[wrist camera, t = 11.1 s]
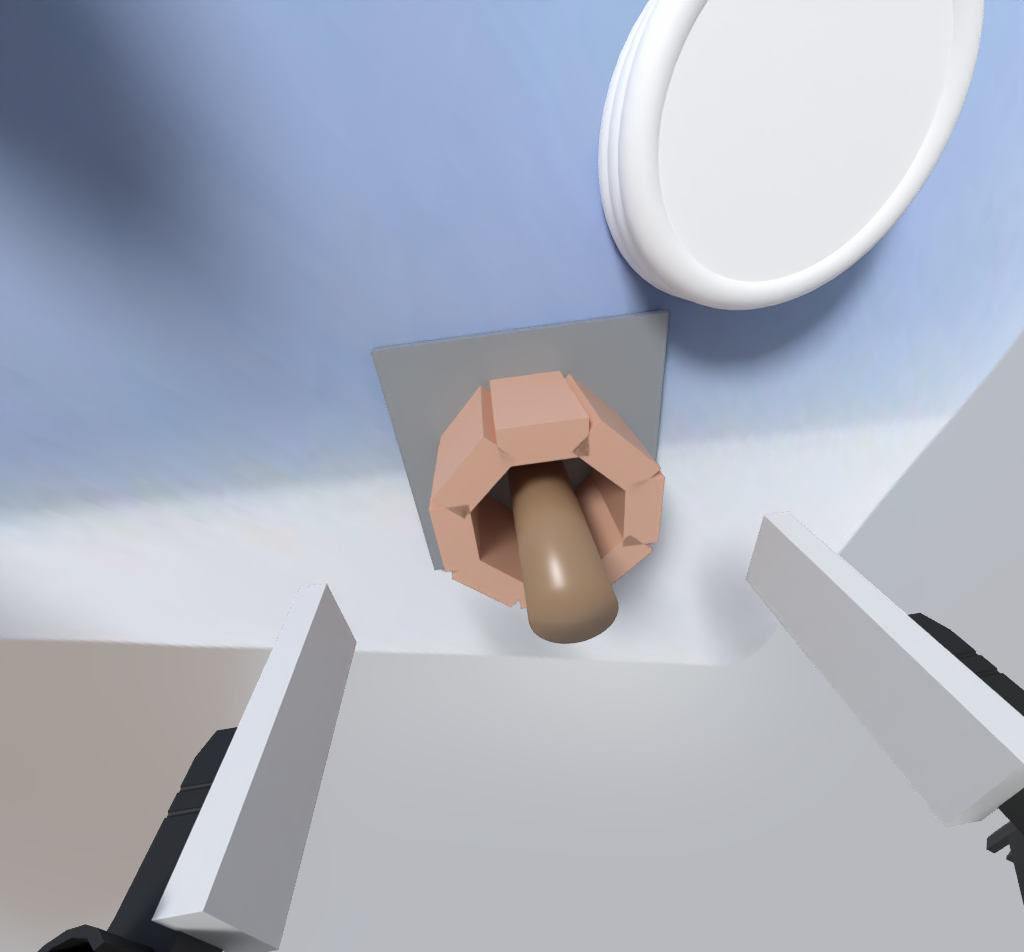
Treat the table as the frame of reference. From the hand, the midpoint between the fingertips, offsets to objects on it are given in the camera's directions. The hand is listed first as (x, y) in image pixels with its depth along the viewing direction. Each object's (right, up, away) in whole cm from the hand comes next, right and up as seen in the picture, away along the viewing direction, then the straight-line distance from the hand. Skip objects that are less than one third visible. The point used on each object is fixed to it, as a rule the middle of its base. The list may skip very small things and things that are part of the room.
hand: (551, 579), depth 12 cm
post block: (0, +4, +7) cm, 8 cm away
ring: (0, +4, +7) cm, 8 cm away
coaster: (+7, +15, +2) cm, 16 cm away
